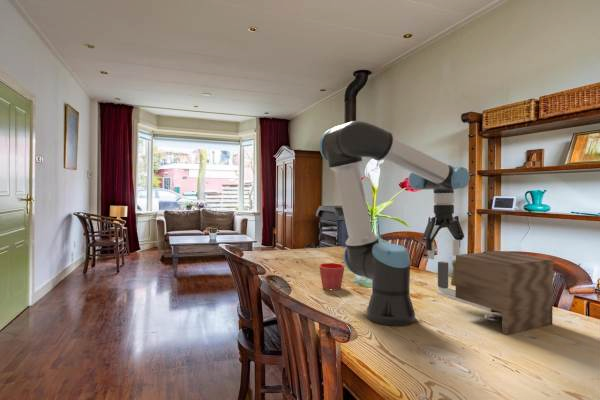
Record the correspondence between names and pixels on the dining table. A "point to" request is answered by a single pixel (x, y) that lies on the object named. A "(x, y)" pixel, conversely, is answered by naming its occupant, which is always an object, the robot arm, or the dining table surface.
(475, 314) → the dining table surface
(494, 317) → the steel disc
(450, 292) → the scraper
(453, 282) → the cork
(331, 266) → the flower pot
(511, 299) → the walnut cabinet
